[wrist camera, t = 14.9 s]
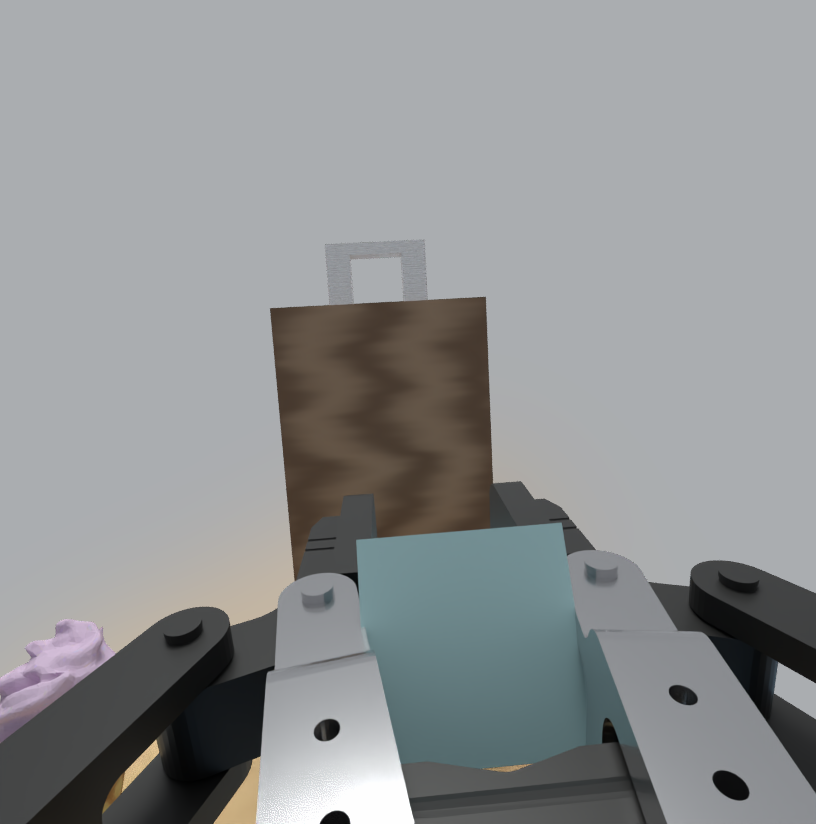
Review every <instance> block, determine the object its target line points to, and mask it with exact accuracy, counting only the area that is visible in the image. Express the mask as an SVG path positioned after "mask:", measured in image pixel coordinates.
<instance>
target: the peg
mask: <svg viewBox="0 0 816 824" xmlns="http://www.w3.org/2000/svg"><path fill="white" fill-rule="evenodd" d="M356 546H357V565H358V584H359V602H360V621H361V628H364V627H365V629H366V633H367V638H368V643H369V647H370V650H372V649H374V651H375V655H376V659H377V663H378V667H379V672H380V676H381V680H382V685H383V689H384V694H385V698H386V702H387V707H388V711H389V715H390V720H391V724H392V729H393V733H394V737H395V742H396V746H397V750H398V755H399V759H400V764H406V763H416V762H426V761H429V762H436V763H443V764H450V765H457V766H464V767H471V768H478V769H483V768H493V767H503V766H513V765H523V764H532V763H537V762H539V761H542V760H545V759H547V758H550V757H552V756H555V755H558V754H560V753H563V752H565V751H568V750H571V749H573V748H576V747H578V746H585V745H586V714H587V689H586V680H585V673H584V668H583V664H582V660H581V657H580V654H579V651H578V644H577V632H576V620H575V605H574V598H573V592H572V585H571V579H570V573H569V566H568V560H567V554H566V547H565V541H564V534H563V528H562V523H551V524H539V525H527V526H515V527H504V528H492V529H480V530H468V531H456V532H444V533H432V534H420V535H408V536H397V537H385V538H373V539H361V540H356Z"/></svg>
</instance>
